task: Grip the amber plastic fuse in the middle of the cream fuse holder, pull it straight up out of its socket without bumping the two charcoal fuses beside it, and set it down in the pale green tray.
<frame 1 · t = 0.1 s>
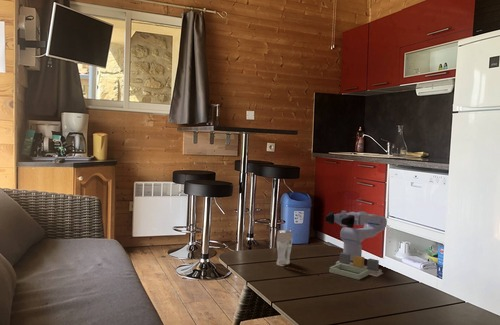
hand: (334, 220, 182), 22 cm above the table, tool horizontal, fingers open, 7 cm apart
charcoal fuse 1: (344, 265, 185), point 1 cm above the table, touching fuse holder
charcoal fuse 2: (372, 272, 176), point 1 cm above the table, touching fuse holder
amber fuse: (358, 269, 181), point 1 cm above the table, touching fuse holder
beer glass: (283, 265, 186), on the table
tray: (348, 275, 174), on the table
fuse holder: (357, 271, 181), on the table
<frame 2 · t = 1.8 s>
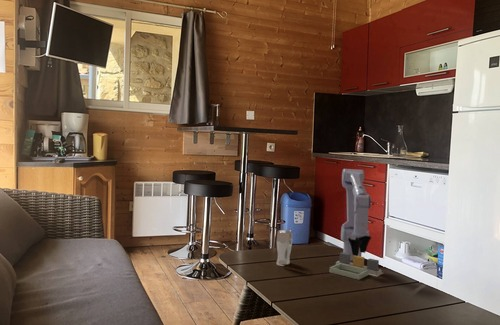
hand: (359, 253, 180), 8 cm above the table, tool pointing down, fingers open, 7 cm apart
nothing on the table moved.
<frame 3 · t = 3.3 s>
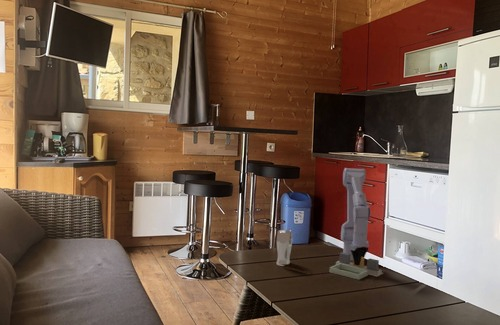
hand: (358, 264, 180), 3 cm above the table, tool pointing down, fingers closed on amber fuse, 2 cm apart
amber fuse: (358, 269, 181), point 1 cm above the table, touching fuse holder, gripper
everything else where it was.
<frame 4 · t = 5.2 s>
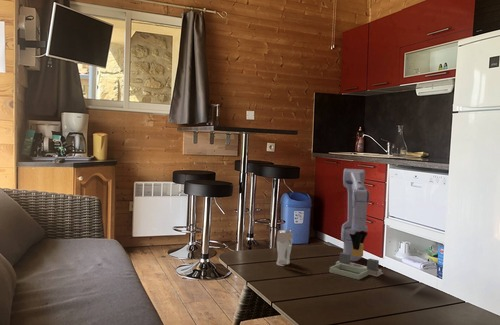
hand: (357, 248, 179), 10 cm above the table, tool pointing down, fingers closed on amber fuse, 2 cm apart
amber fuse: (357, 255, 179), point 7 cm above the table, touching gripper
everything else where it was.
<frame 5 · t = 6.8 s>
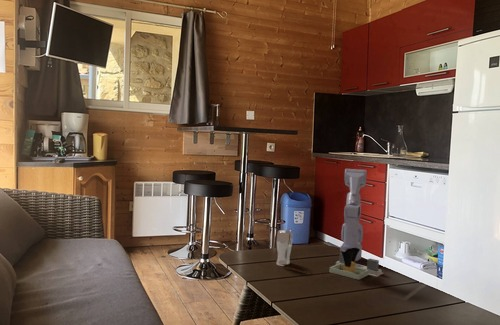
hand: (349, 265, 173), 4 cm above the table, tool pointing down, fingers closed on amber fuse, 2 cm apart
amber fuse: (348, 274, 174), resting on tray, touching gripper
everything else where it was.
when the fingers open (4 cm above the table, at t = 7.4 s): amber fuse stays where it is, resting on tray.
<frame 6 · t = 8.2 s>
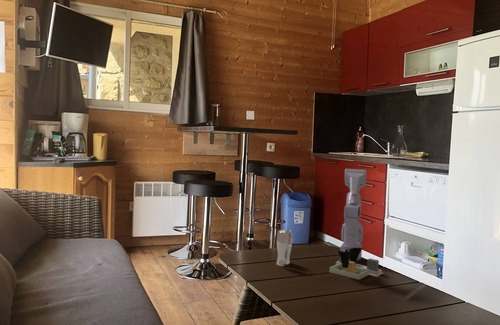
hand: (349, 265, 173), 4 cm above the table, tool pointing down, fingers open, 7 cm apart
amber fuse: (348, 274, 174), resting on tray
everything else where it was.
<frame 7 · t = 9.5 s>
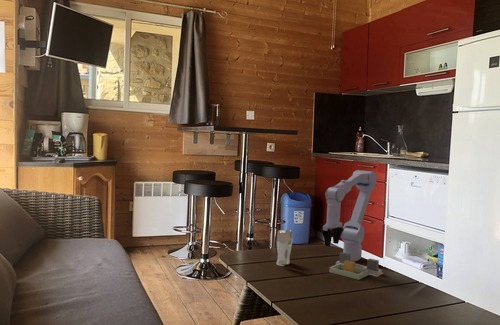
hand: (331, 244, 186), 10 cm above the table, tool pointing down, fingers open, 7 cm apart
nothing on the table moved.
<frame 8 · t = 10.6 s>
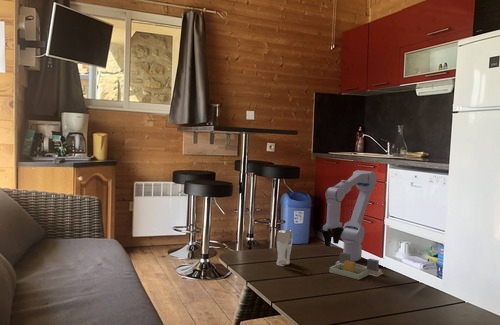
hand: (331, 244, 186), 10 cm above the table, tool pointing down, fingers open, 7 cm apart
nothing on the table moved.
at the end: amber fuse inside the target area on the tray (0.0 cm from its centre), point 0.5 cm above the tray's base; charcoal fuse 1 moved 0.0 cm from its start; charcoal fuse 2 moved 0.0 cm from its start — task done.
